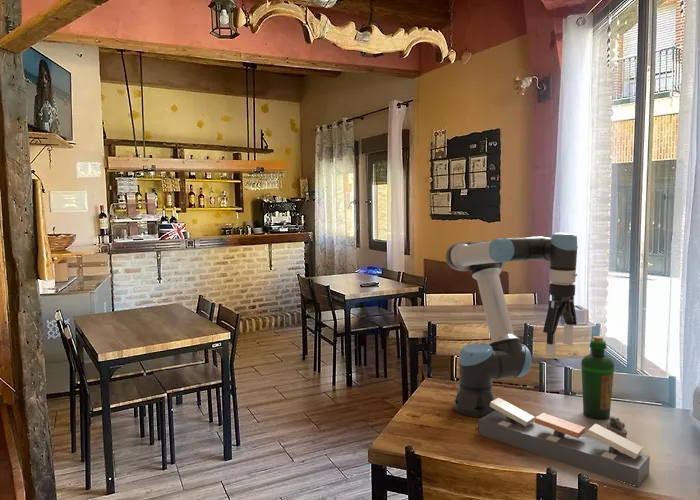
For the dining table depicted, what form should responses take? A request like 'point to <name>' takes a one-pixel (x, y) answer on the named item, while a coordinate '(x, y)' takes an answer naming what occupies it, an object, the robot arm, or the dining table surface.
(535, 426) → the rocker switch base
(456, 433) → the dining table surface
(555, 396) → the dining table surface
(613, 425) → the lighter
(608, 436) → the rocker right
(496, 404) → the block
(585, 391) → the bottle
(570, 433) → the rocker middle
